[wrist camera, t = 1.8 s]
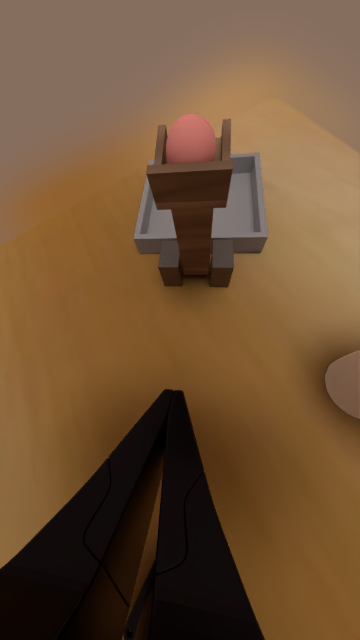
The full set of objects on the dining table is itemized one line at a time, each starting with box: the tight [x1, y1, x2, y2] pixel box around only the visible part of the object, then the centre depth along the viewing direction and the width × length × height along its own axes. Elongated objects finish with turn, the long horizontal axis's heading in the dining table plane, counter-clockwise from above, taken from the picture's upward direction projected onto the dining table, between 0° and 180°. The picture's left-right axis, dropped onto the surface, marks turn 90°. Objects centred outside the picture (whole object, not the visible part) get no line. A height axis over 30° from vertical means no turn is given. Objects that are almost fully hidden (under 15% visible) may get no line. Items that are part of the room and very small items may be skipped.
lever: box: [146, 119, 233, 275], centre depth 18 cm, size 5×5×15 cm
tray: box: [134, 153, 268, 253], centre depth 29 cm, size 17×18×3 cm
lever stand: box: [158, 240, 234, 287], centre depth 24 cm, size 4×9×4 cm, turn 85°
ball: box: [166, 114, 216, 164], centre depth 11 cm, size 3×3×3 cm
